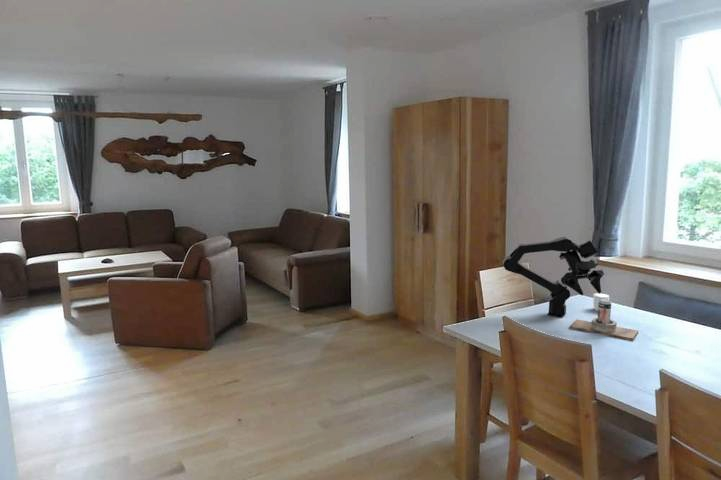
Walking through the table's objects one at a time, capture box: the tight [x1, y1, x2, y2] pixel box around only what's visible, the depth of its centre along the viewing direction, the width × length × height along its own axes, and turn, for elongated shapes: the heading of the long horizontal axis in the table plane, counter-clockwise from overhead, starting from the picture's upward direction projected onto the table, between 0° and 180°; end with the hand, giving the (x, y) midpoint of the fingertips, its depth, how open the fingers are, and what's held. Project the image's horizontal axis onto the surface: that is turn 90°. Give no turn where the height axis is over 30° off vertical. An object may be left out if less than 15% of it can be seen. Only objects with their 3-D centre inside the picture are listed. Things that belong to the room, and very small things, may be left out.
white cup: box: [592, 292, 610, 312], centre depth 239 cm, size 7×7×7 cm
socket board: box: [569, 317, 639, 342], centre depth 211 cm, size 24×11×4 cm, turn 52°
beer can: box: [596, 299, 612, 324], centre depth 211 cm, size 5×5×12 cm
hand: (591, 293), depth 217 cm, fingers open, 9 cm apart
